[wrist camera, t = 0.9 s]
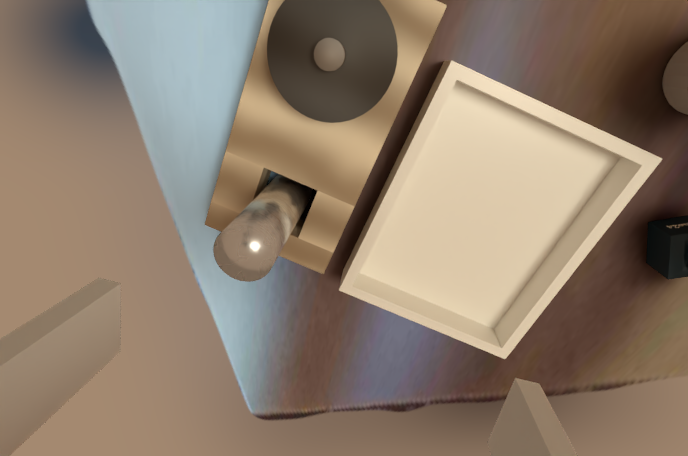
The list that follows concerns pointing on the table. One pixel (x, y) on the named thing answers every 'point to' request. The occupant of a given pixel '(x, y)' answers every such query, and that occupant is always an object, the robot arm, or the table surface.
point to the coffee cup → (677, 80)
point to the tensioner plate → (314, 141)
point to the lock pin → (261, 230)
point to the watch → (668, 247)
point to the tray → (489, 211)
